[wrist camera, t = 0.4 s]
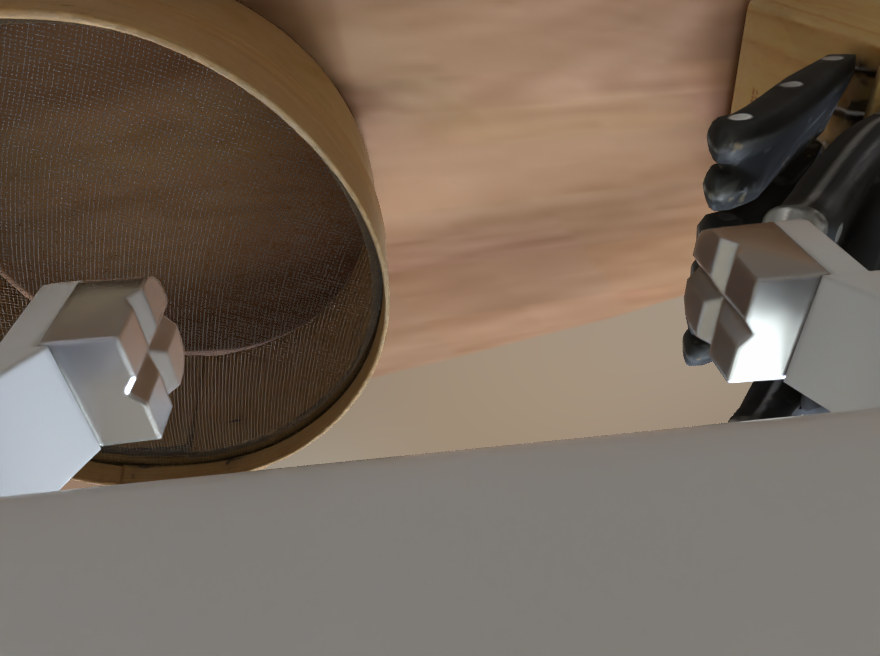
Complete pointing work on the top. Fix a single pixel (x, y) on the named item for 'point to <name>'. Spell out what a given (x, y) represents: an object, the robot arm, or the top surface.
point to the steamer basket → (274, 363)
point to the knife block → (799, 146)
